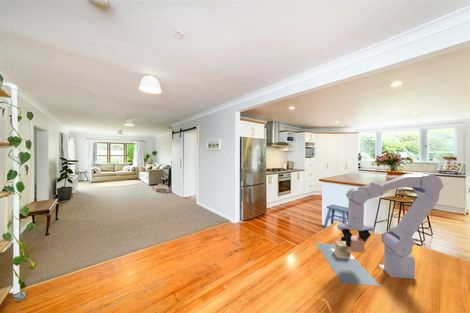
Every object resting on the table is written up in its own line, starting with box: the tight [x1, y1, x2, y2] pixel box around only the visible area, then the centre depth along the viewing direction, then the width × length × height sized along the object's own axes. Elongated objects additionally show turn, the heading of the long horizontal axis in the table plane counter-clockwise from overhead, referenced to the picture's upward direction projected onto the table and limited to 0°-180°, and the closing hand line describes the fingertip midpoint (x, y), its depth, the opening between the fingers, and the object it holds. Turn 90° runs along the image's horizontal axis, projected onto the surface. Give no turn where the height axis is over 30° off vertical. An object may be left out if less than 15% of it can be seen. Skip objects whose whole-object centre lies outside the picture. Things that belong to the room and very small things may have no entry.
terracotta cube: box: [346, 235, 366, 254], centre depth 80 cm, size 5×5×5 cm
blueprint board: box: [315, 242, 381, 287], centre depth 84 cm, size 14×30×1 cm, turn 174°
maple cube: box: [334, 240, 352, 257], centre depth 89 cm, size 5×5×5 cm
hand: (354, 246), depth 80 cm, fingers closed on terracotta cube, 5 cm apart
